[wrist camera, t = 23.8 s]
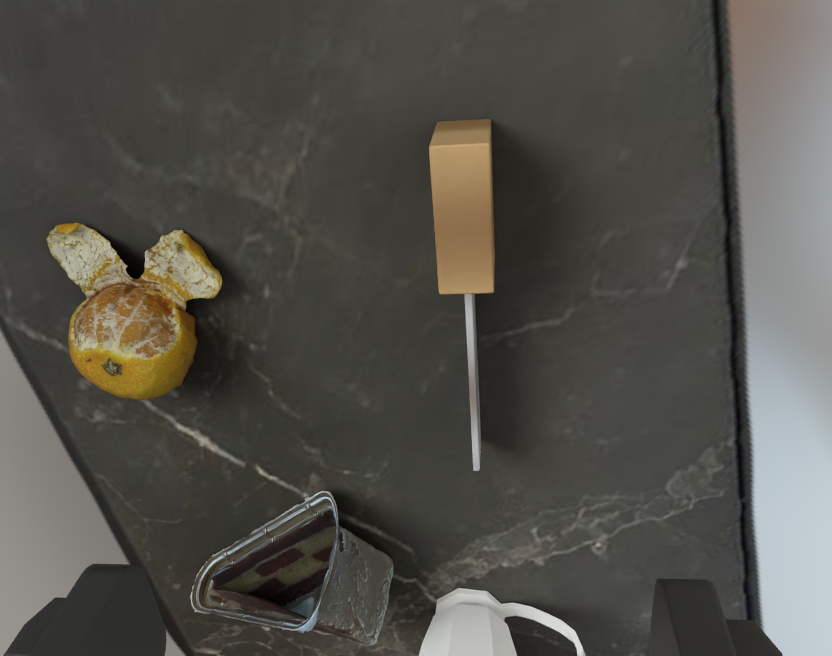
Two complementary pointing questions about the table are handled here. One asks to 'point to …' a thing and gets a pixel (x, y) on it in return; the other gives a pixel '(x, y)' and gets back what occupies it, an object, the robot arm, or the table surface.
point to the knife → (464, 229)
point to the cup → (481, 625)
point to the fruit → (133, 310)
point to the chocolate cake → (300, 576)
